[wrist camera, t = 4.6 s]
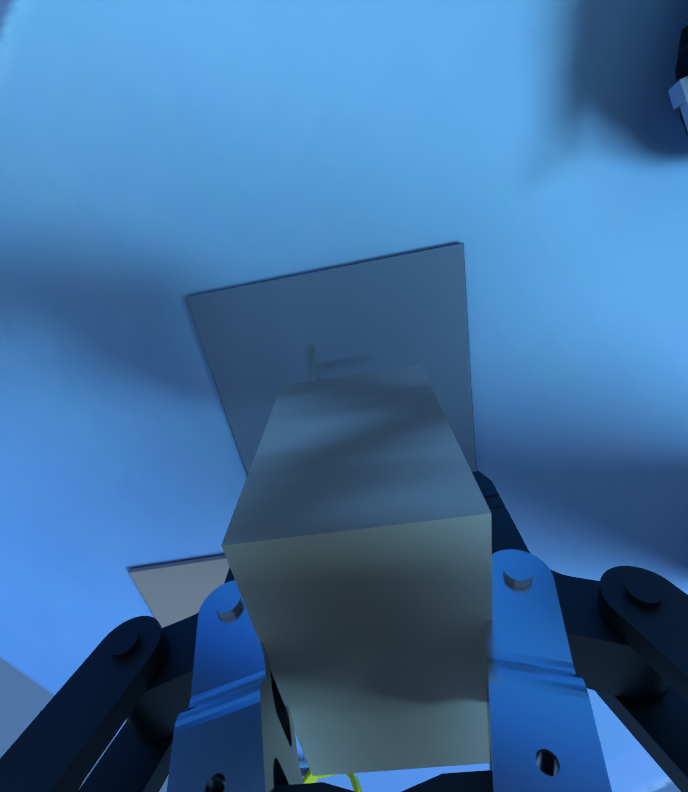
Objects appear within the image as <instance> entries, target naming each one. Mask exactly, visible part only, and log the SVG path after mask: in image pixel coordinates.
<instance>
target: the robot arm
mask: <svg viewBox="0 0 688 792" xmlns="http://www.w3.org/2000/svg"><path fill="white" fill-rule="evenodd" d="M472 474H473V476H474V478H475V480H476V482H477V484H478V486H479V488H480V490H481V493H482V495H483V497H484V499H485V501H486V503H487V505H488V507H489V509H490V511H491V527H492V620H485V633H486V658H487V683H488V689H487V716H488V741H489V770H487V771H473V772H459V773H446V774H441V775H439V776H436V777H434V778H432V779H429V780H427V781H425V782H423V783H420V784H418V785H416V786H413V787H411V788H409V789H407V790H404V791H402V792H612V790H611V786H610V781H609V777H608V773H607V769H606V765H605V761H604V757H603V752H602V748H601V744H600V740H599V736H598V732H597V728H596V724H595V719H594V715H593V711H592V707H591V703H590V699H589V695H588V691H587V688H588V689H592V690H595V691H596V692H597V694H598V695H599V696H600V697H601V699H602V700H603V701H604V702H605V703H606V704H607V706H608V707H609V708H610V709H611V710H612V711H613V713H614V714H615V715H616V716H617V717H618V718H619V720H620V721H621V722H622V723H623V724H624V725H625V727H626V728H627V729H628V730H629V731H630V732H631V734H632V735H633V736H634V737H635V738H636V739H637V741H638V742H639V743H640V744H641V745H642V746H643V748H644V749H645V750H646V751H647V752H648V753H649V754H650V756H651V757H652V758H653V759H654V760H655V761H656V763H657V764H658V765H659V766H660V767H661V768H662V770H663V771H664V772H665V773H666V774H667V775H668V777H669V778H670V779H671V780H672V781H673V782H674V784H675V785H676V786H677V787H678V788H679V789H680V790H681V792H688V595H687V594H686V593H684V592H683V591H681V590H680V589H679V588H677V587H676V586H675V585H673V584H672V583H671V582H669V581H668V580H666V579H665V578H663V577H661V576H660V575H658V574H656V573H653V572H651V571H649V570H646V569H642V568H638V567H632V566H619V567H614V568H611V569H609V570H607V571H606V572H605V573H604V574H603V575H602V577H601V580H600V581H595V580H589V579H582V578H576V577H571V576H566V575H562V574H559V573H557V572H554V571H552V570H550V569H549V568H548V566H547V565H546V564H545V563H544V562H543V561H542V560H540V559H539V558H538V557H536V556H534V555H532V554H531V553H530V552H529V550H528V549H527V547H526V545H525V543H524V541H523V539H522V537H521V535H520V533H519V532H518V530H517V528H516V526H515V524H514V522H513V520H512V518H511V517H510V515H509V513H508V511H507V509H506V508H505V505H504V503H503V501H502V500H501V498H500V497H499V494H498V492H497V490H496V488H495V486H494V484H493V483H492V481H491V480H489V479H488V478H487V477H486V476H484V475H483V474H482V473H480V472H479V471H475V472H472ZM125 720H126V723H125V724H124V726H123V727H122V729H121V730H120V731H119V733H118V734H117V736H116V737H115V739H114V740H113V742H112V743H111V744H110V746H109V747H108V749H107V750H106V752H105V753H104V755H103V756H102V758H101V759H100V760H99V762H98V763H97V765H96V766H95V768H94V769H93V771H92V772H91V774H90V775H89V777H88V778H87V779H86V781H85V782H84V784H83V785H82V786H81V784H82V782H83V781H84V779H85V778H86V776H87V774H88V773H89V772H90V770H91V769H92V768H93V766H94V765H95V763H96V761H97V760H98V759H99V757H100V756H101V755H102V753H103V752H104V750H105V749H106V747H107V746H108V745H109V743H110V742H111V740H112V739H113V737H114V736H115V734H116V733H117V732H118V730H119V729H120V727H121V726H122V724H123V723H124V721H125ZM168 774H169V776H168ZM167 776H168V784H167V792H355V791H351V790H348V789H344V788H341V787H337V786H334V785H330V784H327V783H323V782H320V783H306V784H304V782H303V778H302V774H301V770H300V765H299V760H298V755H297V748H296V740H295V731H294V723H293V718H292V715H291V713H290V710H289V707H288V706H285V705H284V703H283V700H282V698H281V695H280V693H279V690H278V687H277V685H276V682H275V680H274V677H273V675H272V672H271V670H270V659H269V656H268V653H267V651H266V648H265V646H264V643H260V642H259V639H258V637H257V634H256V632H255V629H254V627H253V624H252V622H251V619H250V617H249V614H248V612H247V609H246V606H245V604H244V601H243V599H242V596H241V594H240V591H239V589H238V586H237V584H236V581H235V579H234V576H233V574H232V571H231V569H230V567H229V570H228V573H227V576H226V579H225V582H224V584H223V585H221V586H219V587H218V588H216V589H215V590H214V591H212V592H211V593H210V594H209V595H208V596H207V598H206V599H205V600H204V602H203V603H202V605H201V607H200V610H199V612H198V613H197V614H195V615H193V616H190V617H188V618H186V619H183V620H181V621H178V622H176V623H173V624H171V625H168V626H166V627H163V628H162V627H161V625H160V623H159V622H158V620H156V619H155V618H153V617H150V616H140V617H136V618H133V619H130V620H128V621H126V622H124V623H122V624H121V625H119V626H118V627H116V628H115V629H114V630H113V631H111V632H110V633H109V634H108V635H107V636H106V637H105V638H104V639H103V640H102V642H101V643H100V644H99V645H98V646H97V647H96V649H95V650H94V651H93V652H92V653H91V654H90V656H89V657H88V658H87V659H86V660H85V661H84V662H83V664H82V665H81V666H80V667H79V668H78V669H77V671H76V672H75V673H74V674H73V675H72V676H71V678H70V679H69V680H68V681H67V682H66V683H65V684H64V686H63V687H62V688H61V689H60V690H59V691H58V693H57V694H56V695H55V696H54V697H53V698H52V700H51V701H50V702H49V703H48V704H47V705H46V706H45V708H44V709H43V710H42V711H41V712H40V713H39V715H38V716H37V717H36V718H35V719H34V720H33V722H32V723H31V724H30V725H29V726H28V727H27V729H26V730H25V731H24V732H23V733H22V734H21V735H20V737H19V738H18V739H17V740H16V741H15V742H14V744H13V745H12V746H11V747H10V748H9V749H8V750H7V752H6V753H5V754H4V755H3V756H2V757H1V758H0V792H159V791H160V789H161V787H162V785H163V783H164V782H165V780H166V778H167ZM80 786H81V788H80ZM79 788H80V789H79ZM78 790H79V791H78Z"/></svg>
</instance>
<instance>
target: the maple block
mask: <svg viewBox="0 0 688 792" xmlns="http://www.w3.org/2000/svg"><path fill="white" fill-rule="evenodd" d="M222 548H223V551H224V553H225V556H226V558H227V561H228V563H229V566H230V569H231V571H232V574H233V576H234V579H235V581H236V584H237V586H238V589H239V591H240V594H241V596H242V599H243V601H244V604H245V606H246V609H247V612H248V614H249V617H250V619H251V622H252V624H253V627H254V629H255V632H256V634H257V637H258V639H259V642H260V643H264V646H265V648H266V651H267V653H268V656H269V659H270V670H271V672H272V675H273V677H274V680H275V682H276V685H277V687H278V690H279V693H280V695H281V698H282V700H283V703H284V705H285V706H288V707H289V710H290V713H291V715H292V718H293V723H294V730H295V733H296V736H297V738H298V741H299V743H300V746H301V748H302V751H303V753H304V756H305V758H306V761H307V763H308V766H309V768H310V771H311V773H312V776H319V775H332V774H346V773H360V772H373V771H387V770H401V769H414V768H428V767H441V766H455V765H469V764H482V763H489V741H488V716H487V689H488V683H487V658H486V633H485V620H492V527H491V511H490V509H489V507H488V505H487V503H486V501H485V499H484V497H483V495H482V493H481V490H480V488H479V486H478V484H477V482H476V480H475V478H474V476H473V474H472V471H471V469H470V467H469V465H468V463H467V461H466V459H465V457H464V455H463V452H462V450H461V448H460V446H459V444H458V442H457V440H456V438H455V436H454V434H453V431H452V429H451V427H450V425H449V423H448V421H447V419H446V417H445V415H444V412H443V410H442V408H441V406H440V404H439V402H438V400H437V398H436V396H435V393H434V391H433V389H432V387H431V385H430V383H429V381H428V379H427V377H426V375H425V372H424V370H423V368H422V366H421V365H416V366H409V367H403V368H396V369H389V370H383V371H376V372H369V373H363V374H356V375H349V376H343V377H336V378H329V379H323V380H316V381H309V382H303V383H296V384H289V385H282V386H281V388H280V390H279V393H278V396H277V399H276V401H275V404H274V407H273V409H272V412H271V415H270V417H269V420H268V423H267V425H266V428H265V431H264V433H263V436H262V439H261V441H260V444H259V447H258V449H257V452H256V455H255V457H254V460H253V463H252V465H251V468H250V471H249V473H248V476H247V479H246V481H245V484H244V487H243V489H242V492H241V495H240V497H239V500H238V503H237V506H236V508H235V511H234V514H233V516H232V519H231V522H230V524H229V527H228V530H227V532H226V535H225V538H224V540H223V543H222Z"/></svg>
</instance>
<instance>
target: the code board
mask: <svg viewBox="0 0 688 792" xmlns="http://www.w3.org/2000/svg"><path fill="white" fill-rule="evenodd" d="M185 298H186V301H187V304H188V307H189V309H190V312H191V315H192V318H193V321H194V324H195V327H196V329H197V332H198V335H199V338H200V341H201V344H202V346H203V349H204V352H205V355H206V358H207V361H208V364H209V366H210V369H211V372H212V375H213V378H214V381H215V383H216V386H217V389H218V392H219V395H220V398H221V400H222V403H223V406H224V409H225V412H226V415H227V418H228V420H229V423H230V426H231V429H232V432H233V435H234V437H235V440H236V443H237V446H238V449H239V452H240V455H241V457H242V460H243V463H244V466H245V469H246V472H247V474H248V473H249V471H250V468H251V465H252V463H253V460H254V457H255V455H256V452H257V449H258V447H259V444H260V441H261V439H262V436H263V433H264V431H265V428H266V425H267V423H268V420H269V417H270V415H271V412H272V409H273V407H274V404H275V401H276V399H277V396H278V393H279V390H280V388H281V386H282V385H289V384H296V383H303V382H309V381H316V380H323V379H329V378H336V377H343V376H349V375H356V374H363V373H369V372H376V371H383V370H389V369H396V368H403V367H409V366H416V365H421V366H422V368H423V370H424V372H425V375H426V377H427V379H428V381H429V383H430V385H431V387H432V389H433V391H434V393H435V396H436V398H437V400H438V402H439V404H440V406H441V408H442V410H443V412H444V415H445V417H446V419H447V421H448V423H449V425H450V427H451V429H452V431H453V434H454V436H455V438H456V440H457V442H458V444H459V446H460V448H461V450H462V452H463V455H464V457H465V459H466V461H467V463H468V465H469V467H470V469H471V471H472V472H475V471H476V463H475V444H474V426H473V407H472V389H471V371H470V352H469V334H468V315H467V297H466V278H465V260H464V243H459V244H454V245H448V246H443V247H438V248H433V249H428V250H423V251H418V252H413V253H407V254H402V255H397V256H392V257H387V258H382V259H377V260H372V261H367V262H361V263H356V264H351V265H346V266H341V267H336V268H331V269H326V270H320V271H315V272H310V273H305V274H300V275H295V276H290V277H285V278H279V279H274V280H269V281H264V282H259V283H254V284H249V285H244V286H239V287H233V288H228V289H223V290H218V291H213V292H208V293H203V294H198V295H192V296H187V297H185Z"/></svg>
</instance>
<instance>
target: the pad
mask: <svg viewBox="0 0 688 792" xmlns="http://www.w3.org/2000/svg"><path fill="white" fill-rule="evenodd" d="M229 567H230V566H229V563H228V561H227V558H226V556H225V555H220V556H213V557H206V558H200V559H193V560H186V561H179V562H173V563H166V564H159V565H152V566H146V567H139V568H132V569H131V570H130V572H129V574H130V575H131V577H132V579H133V581H134V582H135V584H136V586H137V587H138V589H139V591H140V593H141V594H142V596H143V598H144V600H145V601H146V603H147V605H148V606H149V608H150V610H151V612H152V613H153V615H154V617H155V619H156V620H158V622H159V623H160V625H161V627H162V628H163V627H166V626H168V625H171V624H173V623H176V622H178V621H181V620H183V619H186V618H188V617H190V616H193V615H195V614H197V613H198V612H199V610H200V607H201V605H202V603H203V602H204V600H205V599H206V598H207V596H208V595H209V594H210V593H211V592H212V591H214V590H215V589H216V588H218V587H219V586H221V585H223V584H224V582H225V579H226V576H227V573H228V570H229Z"/></svg>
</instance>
